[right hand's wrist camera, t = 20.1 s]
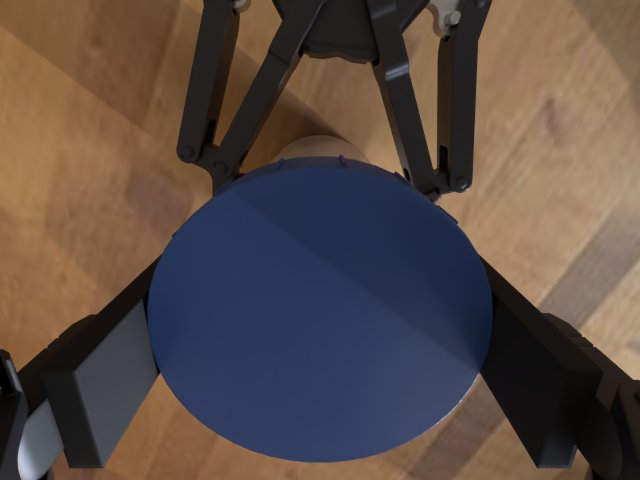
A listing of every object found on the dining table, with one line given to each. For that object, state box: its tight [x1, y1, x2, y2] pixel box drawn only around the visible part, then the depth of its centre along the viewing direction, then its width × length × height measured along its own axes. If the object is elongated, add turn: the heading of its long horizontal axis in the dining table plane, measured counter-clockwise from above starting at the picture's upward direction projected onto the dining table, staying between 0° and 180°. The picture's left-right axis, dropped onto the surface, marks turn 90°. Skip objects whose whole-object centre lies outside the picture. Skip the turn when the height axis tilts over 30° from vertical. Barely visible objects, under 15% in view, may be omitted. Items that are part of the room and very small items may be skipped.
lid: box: [147, 155, 493, 463], centre depth 11 cm, size 10×10×2 cm
